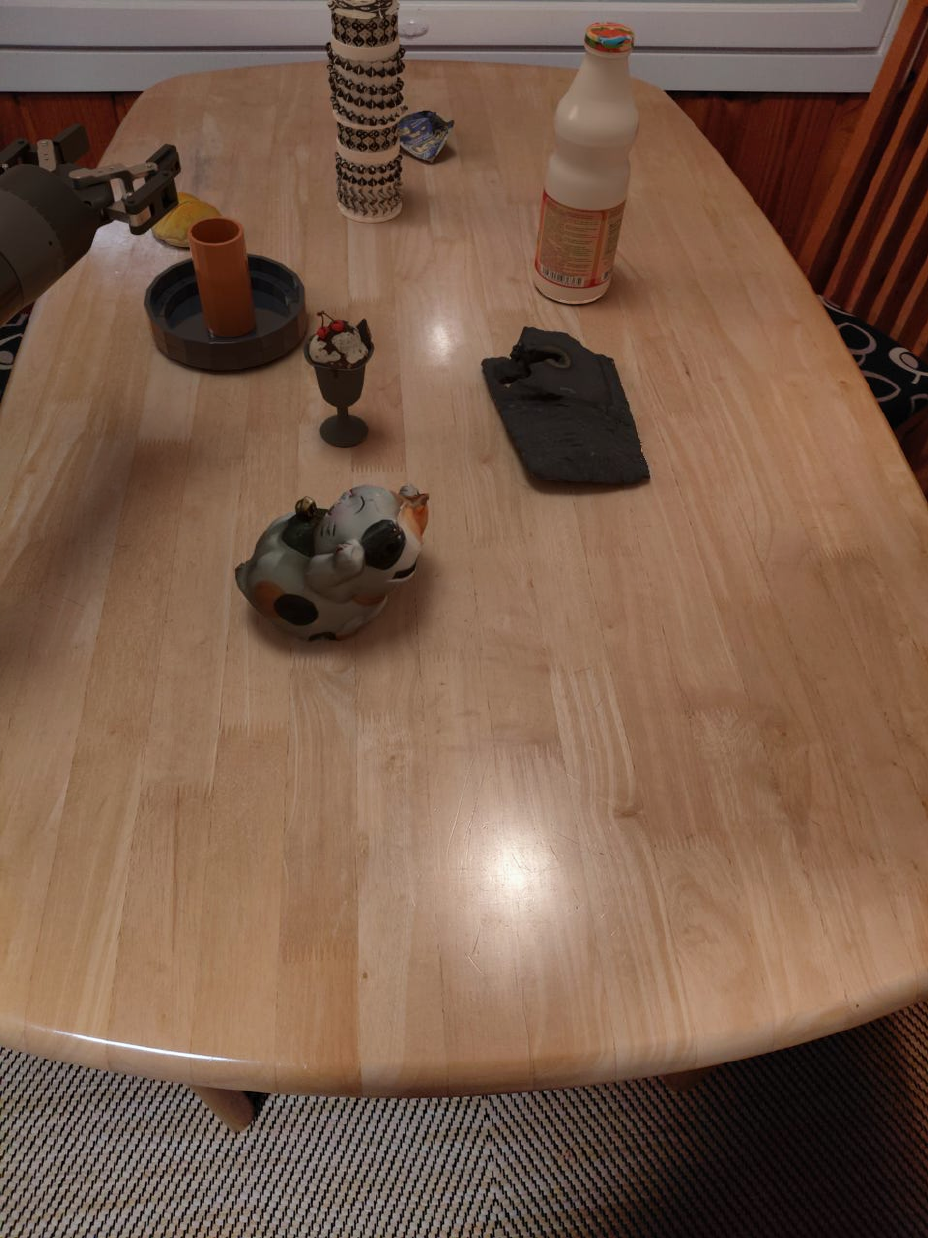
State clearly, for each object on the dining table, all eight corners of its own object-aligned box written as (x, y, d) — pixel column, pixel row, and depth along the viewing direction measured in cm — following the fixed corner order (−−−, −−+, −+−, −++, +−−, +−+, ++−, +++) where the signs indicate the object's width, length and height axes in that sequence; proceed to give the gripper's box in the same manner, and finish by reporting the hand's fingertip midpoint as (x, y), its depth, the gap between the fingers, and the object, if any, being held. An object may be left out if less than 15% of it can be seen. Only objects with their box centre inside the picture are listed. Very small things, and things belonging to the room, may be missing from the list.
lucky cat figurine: (307, 511, 88) (376, 408, 79) (400, 598, 88) (479, 505, 79) (205, 582, 76) (272, 472, 68) (312, 682, 77) (393, 585, 68)
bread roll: (187, 205, 121) (182, 174, 117) (234, 231, 117) (230, 201, 114) (135, 229, 116) (128, 198, 113) (182, 257, 113) (176, 226, 110)
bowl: (207, 395, 98) (201, 363, 95) (122, 318, 105) (114, 286, 102) (338, 334, 105) (336, 303, 102) (250, 266, 113) (246, 235, 110)
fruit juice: (548, 311, 110) (584, 53, 88) (521, 268, 116) (549, 14, 94) (620, 301, 112) (674, 46, 90) (591, 259, 118) (634, 9, 96)
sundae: (304, 448, 93) (290, 319, 82) (319, 406, 98) (308, 276, 86) (368, 457, 93) (364, 328, 81) (381, 414, 97) (379, 285, 85)
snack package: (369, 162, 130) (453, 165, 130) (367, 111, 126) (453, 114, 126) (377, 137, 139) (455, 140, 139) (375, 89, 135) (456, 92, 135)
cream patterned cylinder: (393, 230, 119) (391, 10, 100) (324, 216, 121) (309, -4, 101) (413, 195, 125) (416, -19, 105) (348, 183, 126) (338, -32, 106)
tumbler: (223, 343, 102) (206, 251, 94) (195, 319, 105) (176, 227, 96) (265, 325, 105) (253, 233, 96) (237, 302, 107) (223, 210, 98)
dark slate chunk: (506, 497, 91) (511, 461, 87) (477, 358, 104) (480, 321, 100) (658, 489, 93) (669, 453, 89) (610, 353, 106) (618, 317, 102)
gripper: (87, 212, 65) (197, 115, 75) (-89, 171, 67) (40, 82, 77) (113, 306, 71) (212, 205, 81) (-49, 266, 73) (66, 172, 83)
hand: (128, 145), depth 79 cm, fingers open, 8 cm apart
